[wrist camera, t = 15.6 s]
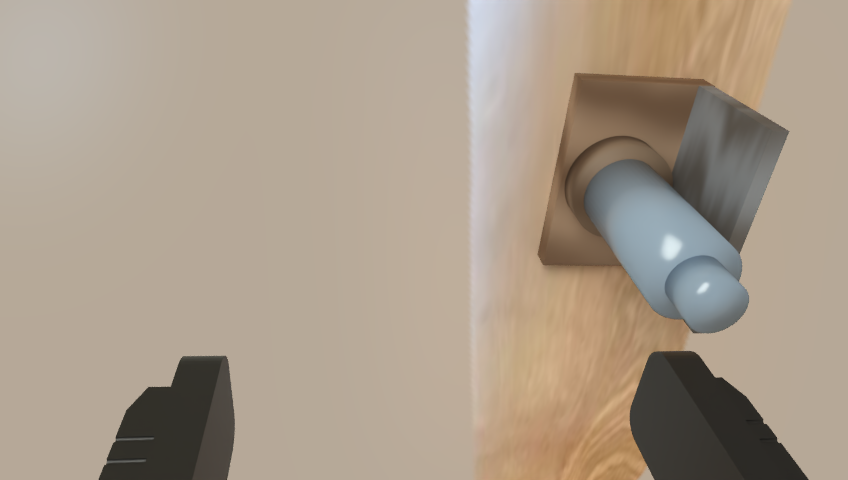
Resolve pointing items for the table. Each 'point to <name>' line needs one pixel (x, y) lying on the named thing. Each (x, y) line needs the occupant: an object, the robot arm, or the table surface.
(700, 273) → the blue grey bottle
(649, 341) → the table surface
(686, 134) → the display stand
